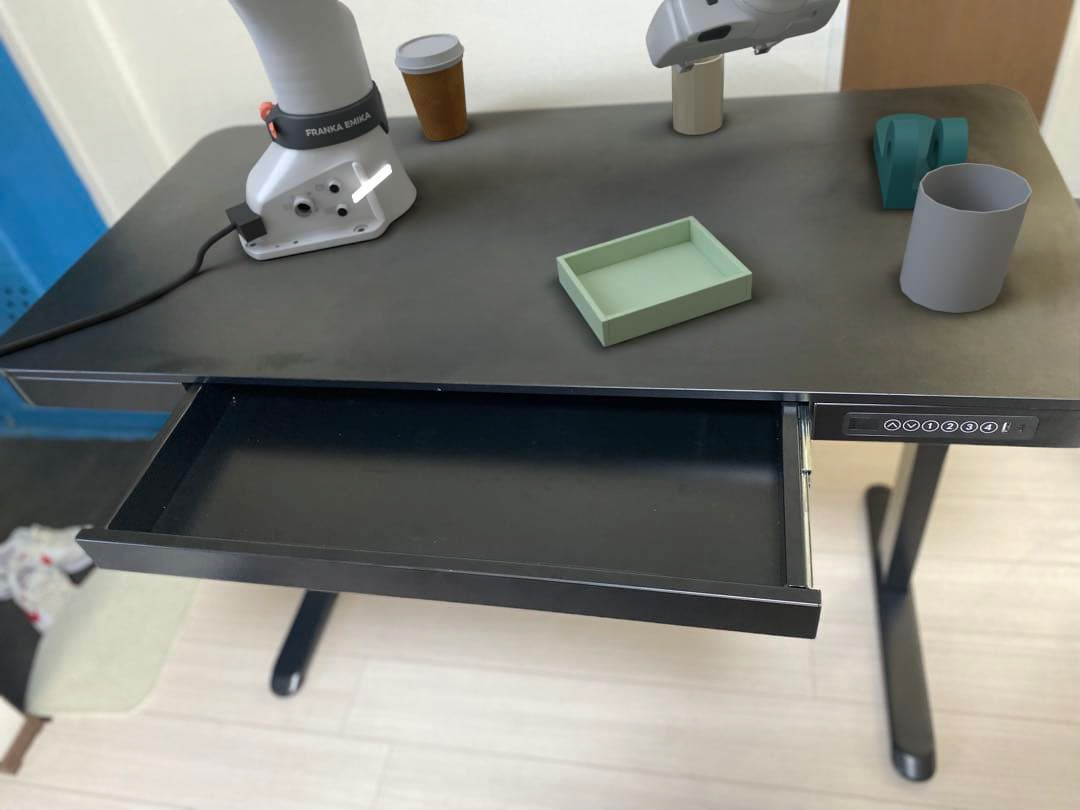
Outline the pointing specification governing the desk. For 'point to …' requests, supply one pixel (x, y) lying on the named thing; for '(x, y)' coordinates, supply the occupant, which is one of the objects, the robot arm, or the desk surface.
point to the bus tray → (653, 280)
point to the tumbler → (698, 96)
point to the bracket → (915, 153)
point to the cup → (963, 236)
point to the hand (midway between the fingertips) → (720, 57)
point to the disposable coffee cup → (435, 83)
